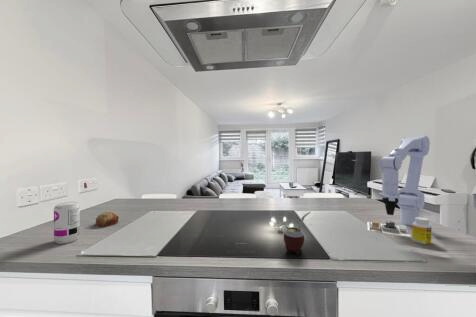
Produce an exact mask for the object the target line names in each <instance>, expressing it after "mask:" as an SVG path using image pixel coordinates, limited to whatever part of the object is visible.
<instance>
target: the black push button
mask: <svg viewBox="0 0 476 317" xmlns="http://www.w3.org/2000/svg"><path fill="white" fill-rule="evenodd" d="M385 224H386V227H389V228H395V226H396V223H395V222H394V221H392V220H391V221H390V220H387V221H385Z"/></svg>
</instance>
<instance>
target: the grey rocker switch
mask: <svg viewBox="0 0 476 317" xmlns="http://www.w3.org/2000/svg"><path fill="white" fill-rule="evenodd" d="M398 226H399V229H400V231H404V232H407V230H408V228H407V225H405V224H402V223H399V224H398Z"/></svg>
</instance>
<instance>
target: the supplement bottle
mask: <svg viewBox="0 0 476 317" xmlns="http://www.w3.org/2000/svg"><path fill="white" fill-rule="evenodd" d="M429 221H430V220H429V219H428V218H426V217H421V216H419V217H416V218H415V222H413V223H412V226H411V228H412V229H411V240H412V241H413V242H415V243H418V244H420V245H421V244H422V245H431V244H432V225H431V224H430V222H429Z"/></svg>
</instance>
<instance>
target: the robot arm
mask: <svg viewBox="0 0 476 317" xmlns="http://www.w3.org/2000/svg"><path fill="white" fill-rule="evenodd" d="M430 146H431V143H430V138H429V136H427V135H424V136H413V137H411V136H408V137H402V139H400V146H399V147H394V149H393V150H392V151H391V152H390V153H389V154H388V155H387V156H382V157H381V158H380V160H379V167H380V172H381V174H382V181H381V183H382V186H381V188H382V190H381V191H382V192H379V193H378V194H379V195H380V196H383V197H382V198H381V199H382V201H383V203H384V206H385V211H386V214H387V215H389V216H394V213H395V210H396V206H398V208H399V215H400V217H399V219H400V220H399V224H401V225H406V226H411V227H412V223H413V222H415V218H416V217H420V210H422V209H423V208H424V207H425V203H426V202H425V193H423V192H422V191H421V190H420V189H419V185H420V181H421V180H420V178H421V174H422V173H421V172H422V167H423V162H424V158H425V156H427V155H429V151H430ZM407 156H409V157H410V159H409V162H408V167H407V168H408V169H407V173H406V179H405V185H404V187H402V188H400V189H399V170H400V169H401V168H402V164H403V161H404V160H405V159H406V158H407Z"/></svg>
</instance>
